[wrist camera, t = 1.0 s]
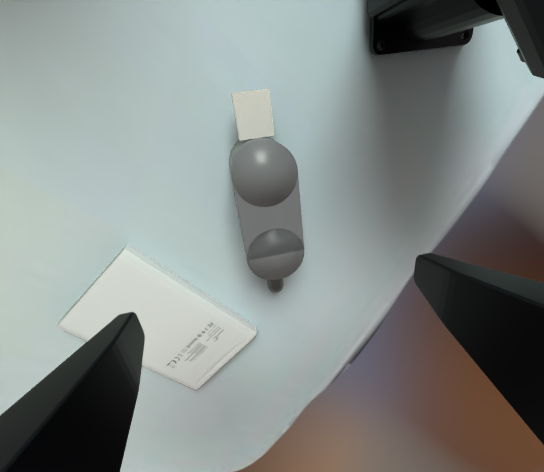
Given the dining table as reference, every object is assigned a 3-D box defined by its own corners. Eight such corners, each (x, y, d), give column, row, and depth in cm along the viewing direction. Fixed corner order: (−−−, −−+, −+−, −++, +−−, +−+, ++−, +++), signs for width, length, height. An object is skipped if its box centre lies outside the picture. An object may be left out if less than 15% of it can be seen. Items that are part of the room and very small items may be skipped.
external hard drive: (130, 239, 20) (255, 322, 25) (64, 314, 22) (195, 378, 27) (123, 250, 19) (258, 335, 24) (53, 329, 20) (194, 393, 25)
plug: (294, 276, 23) (308, 307, 20) (251, 285, 23) (257, 318, 19) (275, 88, 17) (290, 84, 14) (216, 96, 17) (216, 94, 13)
